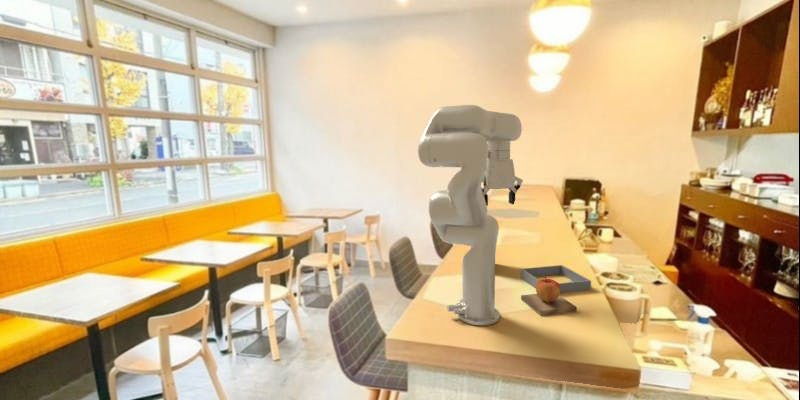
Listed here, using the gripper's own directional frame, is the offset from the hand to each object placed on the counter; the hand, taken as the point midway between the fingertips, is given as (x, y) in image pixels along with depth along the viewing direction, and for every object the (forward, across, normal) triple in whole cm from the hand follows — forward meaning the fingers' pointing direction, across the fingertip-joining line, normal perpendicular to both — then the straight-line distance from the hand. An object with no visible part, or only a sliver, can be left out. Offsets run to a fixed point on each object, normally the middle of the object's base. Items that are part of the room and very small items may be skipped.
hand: (498, 204), depth 134 cm
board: (+30, +9, -19) cm, 37 cm away
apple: (+29, +9, -19) cm, 36 cm away
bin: (+30, +20, -3) cm, 37 cm away
